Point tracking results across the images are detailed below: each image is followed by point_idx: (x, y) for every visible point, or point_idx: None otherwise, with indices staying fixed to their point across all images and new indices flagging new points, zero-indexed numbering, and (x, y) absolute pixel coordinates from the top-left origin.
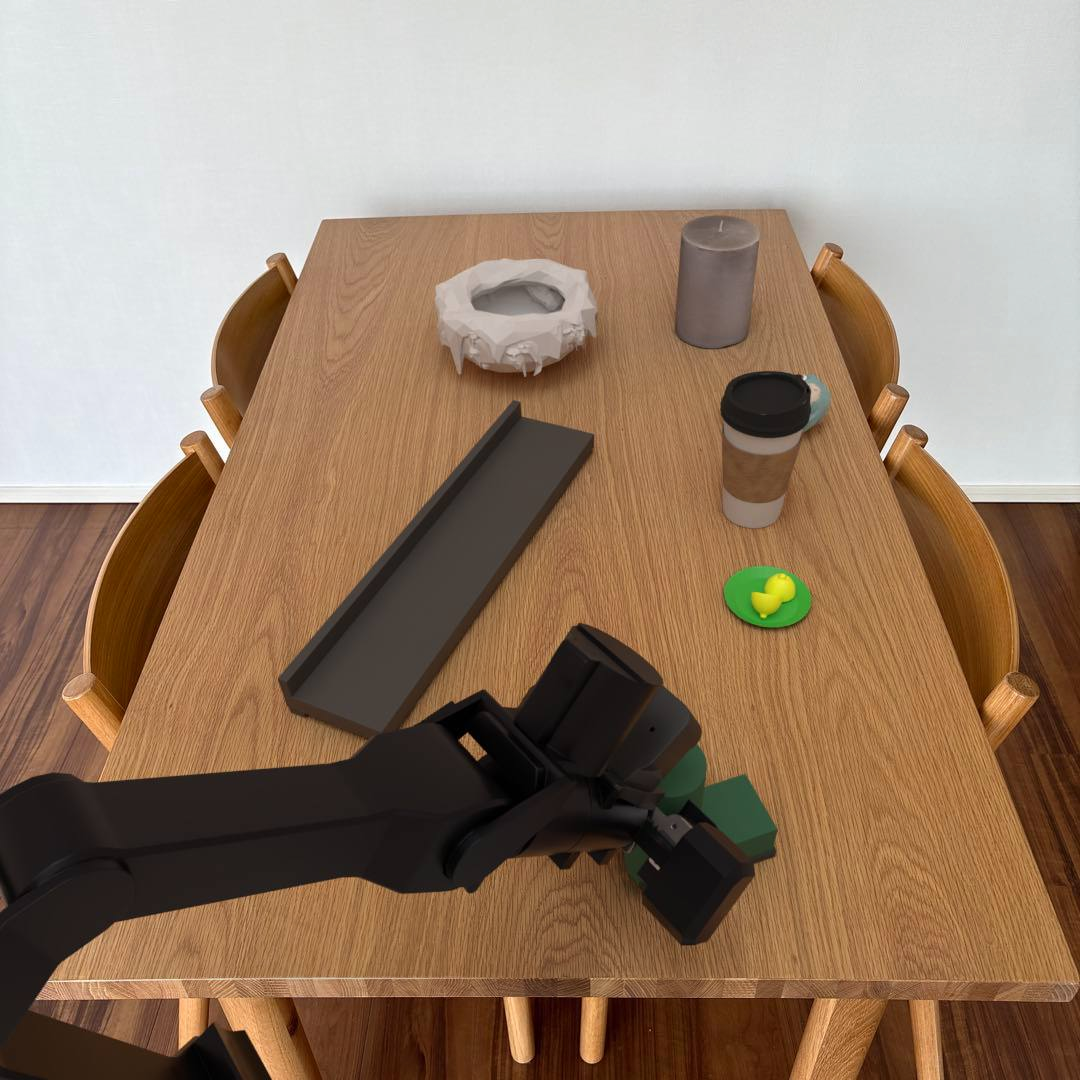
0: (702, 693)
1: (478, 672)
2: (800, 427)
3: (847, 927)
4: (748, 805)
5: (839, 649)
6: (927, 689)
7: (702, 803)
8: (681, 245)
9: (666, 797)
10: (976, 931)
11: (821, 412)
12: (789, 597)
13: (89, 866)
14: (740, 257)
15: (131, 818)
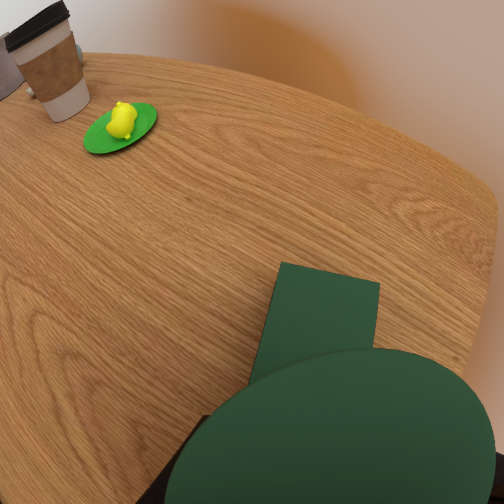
0: (136, 230)
1: None
2: (66, 16)
3: (450, 291)
4: (329, 293)
5: (201, 114)
6: (277, 96)
7: (287, 351)
8: None
9: None
10: (471, 209)
11: (78, 52)
12: (135, 114)
13: None
14: (3, 41)
15: None
